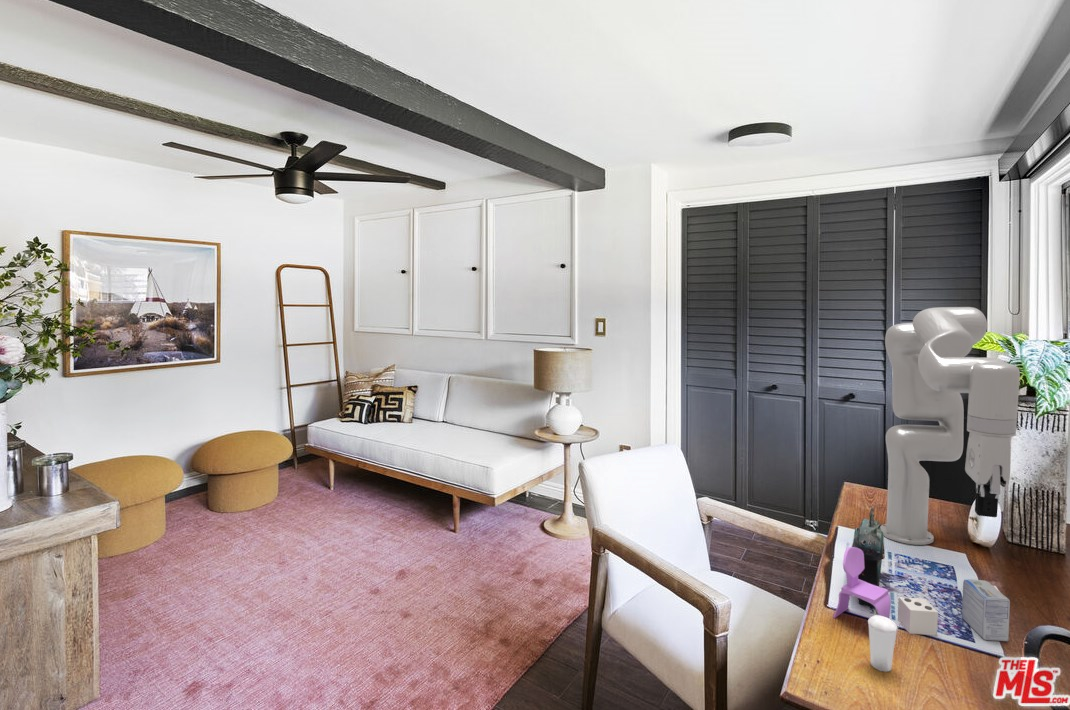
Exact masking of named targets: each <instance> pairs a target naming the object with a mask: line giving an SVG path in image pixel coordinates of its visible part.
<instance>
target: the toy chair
mask: <svg viewBox="0 0 1070 710" xmlns="http://www.w3.org/2000/svg"><path fill="white" fill-rule="evenodd" d="M842 567H843V568H842V569H843V571H844V573H845V577H846V584H844V585H843V586H842V587H841V588H840V589H841V591H839V594H838V602H837V606H836V609H835V612H834V614H833V616H832V618H833V619H836V618H837V617H838V616H840V615H841V614H843V613H844V612H845V611H847V610H848V609H849V607H850V606H849V605H850V604H849V603H850V597H851V596H852V597H855V598H857V599H858V598H860V599H862V600H864V601H866V602H869V603H871V604H872V605H873V606H874V607H875V608H874V607H873V608H874V609H875V611H876V612H877V615H880V616H884V617H887V618H889V619H890V615H891V606H892V605H891V604H892V603H891V601H892V599H891V596H890V594H889V589H886V588H884V587H882V586H879V587H878V586H875V585H872V584H870V583H867V582H865V581H863V580H860V579H858V575H859V574H860V573H861V572H862V571H863V570H864V568H865V567H864V553H863V551H862V550H861V549H859V548H856V547H852V546H850V547H849V546H848V547H847V548H846V549H845V550H844V555H843V560H842Z"/></svg>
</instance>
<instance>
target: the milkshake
mask: <svg viewBox="0 0 1070 710" xmlns="http://www.w3.org/2000/svg"><path fill="white" fill-rule="evenodd" d="M899 623H900V622H899ZM901 623H902V622H901ZM901 623H900V624H898V626H897V624H896V623H895V622H894V621H893V620H892V619H890V617H889V618H887V617H884V616H880V615H878V614H876V615H872V616H871V617H869V618H868V620H867V625H868V626H867V627H868V637H869V654H870V665H871V666H872V668H874V669H876V670H878V671H880V672H884V673H887V672H891V671H892V666H893V665H892V664H893V657H894V650H895V643H896V639H897V633H898V629H899V628H900V625H902V624H901Z"/></svg>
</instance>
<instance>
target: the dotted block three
mask: <svg viewBox="0 0 1070 710" xmlns="http://www.w3.org/2000/svg"><path fill="white" fill-rule="evenodd" d="M897 605H898V606H897V621H898V622H899V623H901V622H902V623H901V624H900V625H902V627H903V628H904V630H906V631H907V633H908V634H910V635H911V634H913V635H927V636H938V625H939V623H938V622H939V611H938V610H937V609H936V608H935V607H934V606H933V604H931V603H930V602H929V601H928V599H926V598H924V597H923V598H921V597H906V596H905V597H904V596H902V597H901V596H898V604H897Z"/></svg>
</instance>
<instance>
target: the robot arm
mask: <svg viewBox="0 0 1070 710" xmlns="http://www.w3.org/2000/svg"><path fill="white" fill-rule="evenodd" d="M987 321H988V320H987V318H986V316H985V315H984V313H983V311H981V310H980V309H979V308H976V307H973V306H972V307H971V306H959V307H958V306H947V307H942V306H939V307H929V308H926V309H923V310H920V311H919V312H918V313H917V314H916V315H914V317H913V319H912V322H904V323H902V322H901V323H896V324H894V325H892V326H890V327H889V328H888V329H887V330H886V333H885V337H884V344H885V345H884V346H885V350H886V354H887V357H888V360H889V363H890V365H891V371H892V377H891V378H892V379H891V381H892V384H891V385H892V387H891V388H892V389H891V391H892V392H891V393H892V395H891V400H892V401H891V402H892V404H891V405H892V412H893V414H894V415H895V417H897V418H899V419H903V420H908V421H909V420H910V421H911V420H912V421H931V422H932V421H933V422H938V424H939V425H927V424H925V425H924V424H897V425H893V426H891V427H890V428H888V429H887V431H886V433H885V444H886V445H885V446H886V452H887V460H888V461H887V462H888V463H887V465H888V466H887V467H888V469H887V473H888V474H887V479H888V480H887V503H886V504H887V506H886V523H885V524H882V525H881V526H880V528H881V531H882V532H883V537H885V538H888V539H889V540H892V541H895V542H898V543H901V544H907V545H913V546H925V545H926V546H927V545H930V544H932V543H934V541H935V540H934V539H935V538H934V535H933V533H932V532H930V531H928V522H929V521H928V520H929V519H928V518H929V503H930V502H929V500H930V499H929V496H930V475H929V473H928V472H927V471H926V469H925V468H924V467H923V466H922V465H921V464H920V461H923V462H925V461H929V462H931V461H932V462H956V461H958V460H959V459H960V458H961V457H962V455H963V451H964V423H965V422H964V419H965V418H964V416H965V415H964V412H965V410H964V408H965V407H964V401H963V397H962V395H961V394H968V400H967V401H968V402H967V403H968V404H967V418H966V432H969V433H968V434H969V435H968V438H967V444H966V445H967V447H966V455H965V456H966V457H965V465H964V466H965V467H964V471H965V473H966V474H967V475H968V476H969V477H970V478H971V480H972V481H974V483H975V492H976V493H975V499H974V501H975V503H974V512H975V513H976V515H978V516H979V517H987V518H988V517H989V518H997V517H998V506H999V495H1001V487H1002V488H1006V487H1008V486H1009V484H1010V477H1011V476H1010V475H1011V454H1012V453H1011V448H1012V447H1011V438H1013V437H1015V436H1016V435H1017V424H1018V423H1017V422H1018V409H1019V394H1020V393H1019V391H1020V378H1021V377H1020V376H1021V375H1020V372H1021V371H1020V369H1019V367H1018V366H1017V365H1015V364H1012V363H1007V362H1006V361H1004V360H1003V359H1002V358H1001V359H1000V358H997V357H996V358H995V357H975V356H968V357H966V356H967V355H969V354H970V352H971V351H972V349H973V346H974V345H976V344H978V343H979V342H980V341H981V340H982V339H983V338H984V337H985V335H986V333H987V331H988V330H987V329H988V322H987Z"/></svg>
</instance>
